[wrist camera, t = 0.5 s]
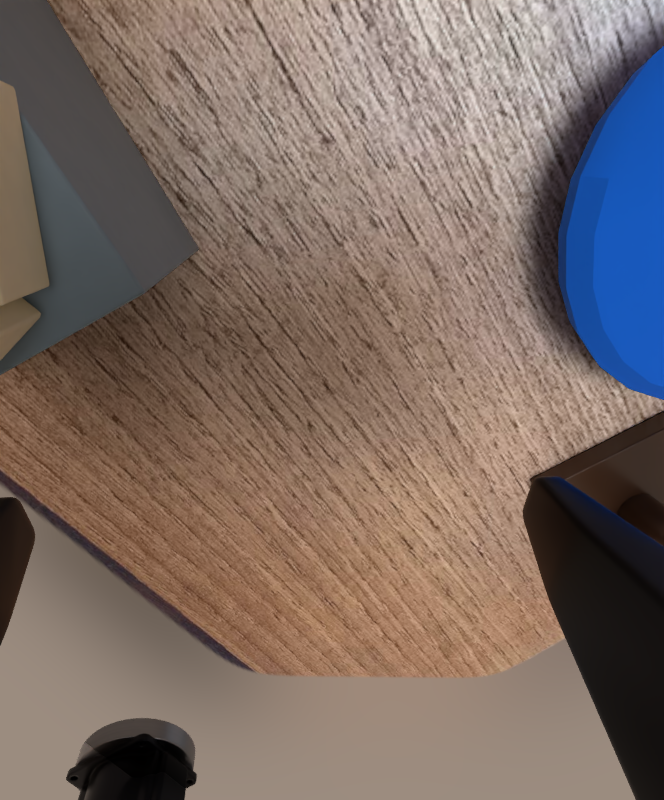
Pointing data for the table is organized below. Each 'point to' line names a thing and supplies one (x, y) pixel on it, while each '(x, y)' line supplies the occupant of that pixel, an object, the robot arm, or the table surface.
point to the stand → (624, 475)
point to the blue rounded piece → (620, 236)
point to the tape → (17, 229)
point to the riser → (81, 185)
